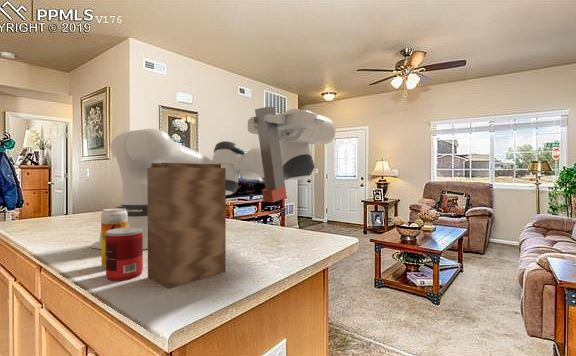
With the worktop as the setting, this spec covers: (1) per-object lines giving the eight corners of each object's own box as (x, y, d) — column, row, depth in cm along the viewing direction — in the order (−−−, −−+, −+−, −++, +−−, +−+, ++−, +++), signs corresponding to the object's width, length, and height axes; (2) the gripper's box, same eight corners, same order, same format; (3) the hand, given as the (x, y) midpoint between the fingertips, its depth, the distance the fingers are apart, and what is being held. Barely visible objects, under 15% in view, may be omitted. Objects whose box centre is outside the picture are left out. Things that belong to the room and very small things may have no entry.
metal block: (264, 108, 77) (250, 109, 74) (274, 106, 75) (260, 107, 71) (276, 196, 81) (263, 201, 77) (286, 197, 79) (273, 202, 75)
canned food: (148, 270, 77) (148, 227, 77) (131, 281, 69) (130, 233, 69) (119, 269, 78) (118, 226, 77) (98, 281, 70) (97, 233, 69)
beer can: (104, 270, 77) (104, 211, 76) (99, 265, 81) (98, 209, 81) (130, 266, 81) (130, 209, 80) (124, 261, 85) (124, 207, 85)
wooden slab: (203, 263, 83) (203, 164, 83) (225, 271, 77) (225, 164, 76) (147, 277, 72) (147, 163, 71) (168, 288, 65) (168, 162, 65)
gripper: (327, 134, 77) (291, 128, 66) (269, 139, 90) (232, 135, 80) (327, 109, 77) (291, 99, 66) (269, 118, 90) (232, 111, 80)
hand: (258, 119), depth 73 cm, fingers closed on metal block, 3 cm apart
